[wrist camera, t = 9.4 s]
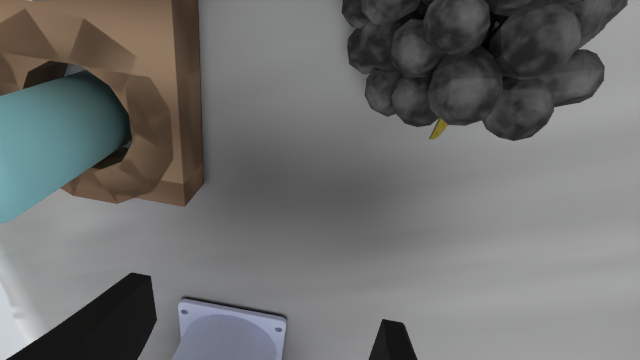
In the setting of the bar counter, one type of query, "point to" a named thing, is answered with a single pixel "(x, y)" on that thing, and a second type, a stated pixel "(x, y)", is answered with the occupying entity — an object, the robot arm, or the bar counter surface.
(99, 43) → the socket station
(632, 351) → the bar counter surface
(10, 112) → the peg
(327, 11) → the bar counter surface
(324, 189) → the bar counter surface
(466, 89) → the fruit
